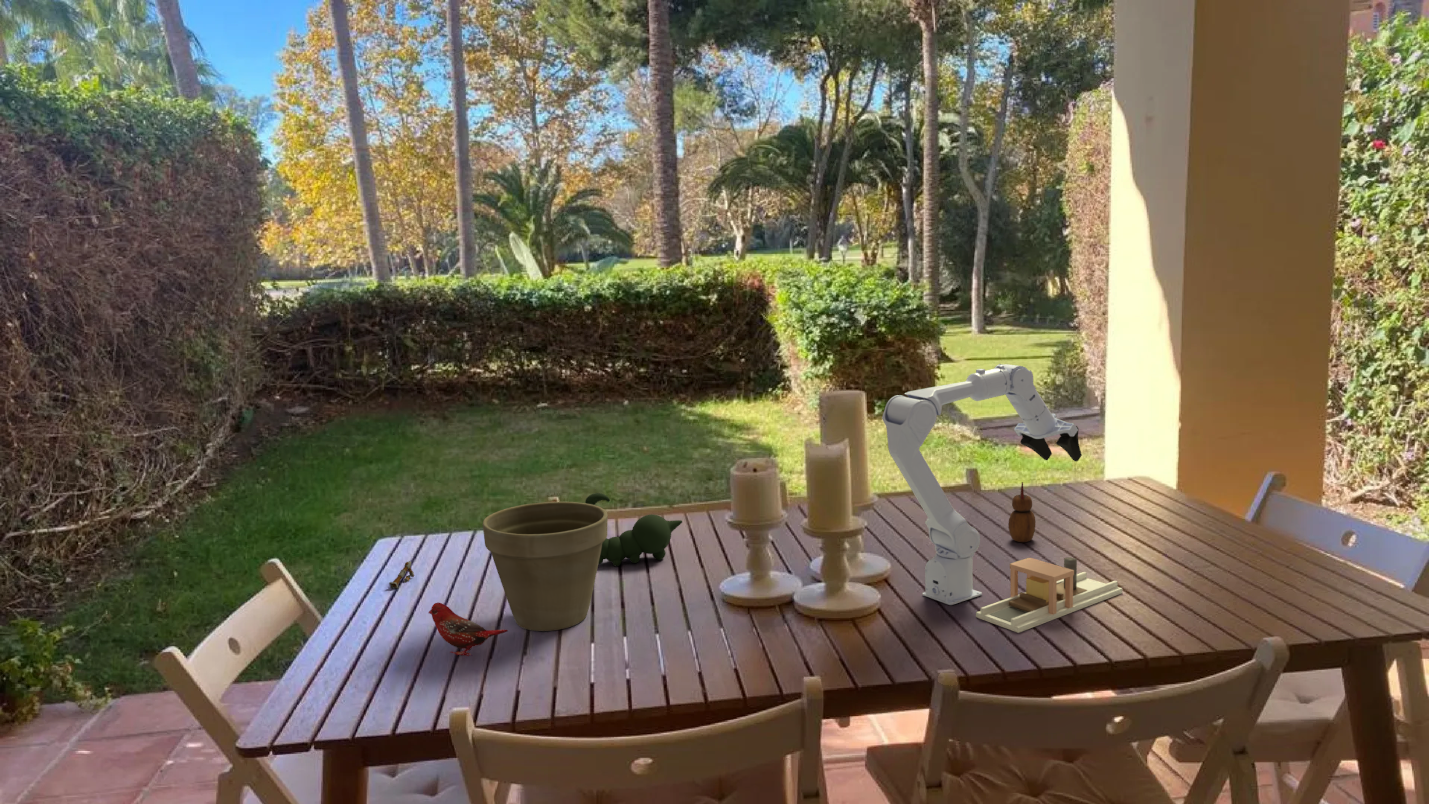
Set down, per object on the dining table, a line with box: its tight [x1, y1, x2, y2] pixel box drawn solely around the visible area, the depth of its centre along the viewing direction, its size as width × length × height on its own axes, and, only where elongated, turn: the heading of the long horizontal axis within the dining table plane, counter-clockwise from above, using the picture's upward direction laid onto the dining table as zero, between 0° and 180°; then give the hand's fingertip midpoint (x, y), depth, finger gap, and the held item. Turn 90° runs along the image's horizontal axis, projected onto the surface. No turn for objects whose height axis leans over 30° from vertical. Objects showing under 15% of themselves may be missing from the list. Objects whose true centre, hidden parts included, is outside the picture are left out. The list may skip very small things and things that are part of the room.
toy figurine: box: [584, 492, 683, 567], centre depth 223 cm, size 9×19×25 cm
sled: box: [1009, 556, 1087, 612], centre depth 183 cm, size 16×6×7 cm, turn 123°
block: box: [1025, 576, 1049, 602], centre depth 182 cm, size 4×4×4 cm
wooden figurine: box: [1007, 481, 1037, 543], centre depth 225 cm, size 7×6×15 cm
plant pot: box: [482, 501, 609, 632], centre depth 188 cm, size 25×25×22 cm
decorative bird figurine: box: [428, 602, 509, 657], centre depth 172 cm, size 3×18×10 cm, turn 69°
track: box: [975, 557, 1123, 634], centre depth 184 cm, size 32×10×8 cm, turn 123°
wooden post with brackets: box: [388, 560, 415, 589], centre depth 217 cm, size 2×8×4 cm, turn 164°
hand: (1063, 457), depth 199 cm, fingers open, 7 cm apart
